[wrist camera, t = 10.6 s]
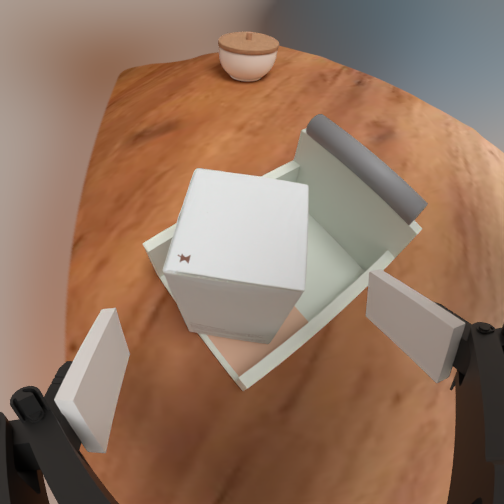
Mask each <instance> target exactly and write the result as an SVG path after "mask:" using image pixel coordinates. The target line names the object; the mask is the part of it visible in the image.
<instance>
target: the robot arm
mask: <svg viewBox="0 0 504 504" xmlns="http://www.w3.org/2000/svg"><path fill="white" fill-rule="evenodd" d="M366 317H367V318H368V319H369V320H370V321H371V322H372V323H374V324H375V325H376V326H377V327H378V328H379V329H380V330H381V331H382V332H383V333H384V334H385V335H387V336H388V337H389V338H390V339H391V340H392V341H393V342H394V343H395V344H396V345H397V346H398V347H399V348H400V349H401V350H402V351H404V352H405V353H406V354H407V355H408V356H409V357H410V358H411V359H412V360H413V361H414V362H415V363H416V364H417V365H418V366H419V367H420V368H421V369H422V370H423V371H425V372H426V373H427V374H428V375H429V376H430V377H431V378H432V379H433V380H434V381H435V382H436V383H438V382H440V381H442V380H444V379H446V378H448V377H449V375H450V372H451V369H452V366H454V367H455V368H456V369H457V372H456V375H455V377H454V380H453V383H452V385H451V388H450V390H453V387H454V386H455V387H456V426H455V445H454V458H453V467H452V476H451V483H450V490H449V496H448V501H447V504H504V324H503V327H502V328H498V329H495V328H494V327H493V326H492V325H490V324H487V323H483V322H477V323H474V324H473V325H472V324H470V323H469V322H467V321H466V320H464V319H463V318H461V317H460V316H458V315H457V314H455V313H453V312H452V311H450V310H448V309H447V308H446V307H444V306H443V305H441V304H439V303H436V302H433V301H431V300H429V299H428V298H426V297H425V296H423V295H422V294H420V293H418V292H417V291H415V290H414V289H412V288H410V287H409V286H407V285H406V284H404V283H402V282H401V281H399V280H397V279H396V278H394V277H393V276H391V275H389V274H388V273H386V272H384V271H383V270H381V269H379V270H374V271H369V282H368V296H367V307H366ZM129 356H130V353H129V350H128V347H127V344H126V341H125V337H124V334H123V331H122V328H121V324H120V321H119V318H118V314H117V311H116V308H110V309H102V310H101V312H100V313H99V315H98V317H97V319H96V320H95V322H94V324H93V325H92V327H91V329H90V331H89V333H88V334H87V336H86V338H85V340H84V342H83V343H82V345H81V347H80V349H79V351H78V353H77V355H76V356H75V358H74V360H73V361H67V362H66V363H65V364H63V365H62V366H61V367H60V368H59V370H58V371H57V374H56V375H55V378H54V379H53V381H52V384H51V385H50V387H49V388H48V391H47V393H46V394H45V396H44V397H43V395H42V393H41V391H40V390H39V389H38V388H37V387H34V386H27V387H23V388H21V389H19V390H18V391H16V392H15V393H14V394H13V395H12V397H11V399H10V405H11V407H12V409H13V410H14V412H15V413H16V414H17V416H18V417H19V420H12V421H8V419H7V418H6V417H5V415H4V414H3V413H2V412H0V504H49V500H48V496H47V493H46V487H45V483H44V478H43V475H44V477H45V479H46V481H47V483H48V485H49V487H50V489H51V491H52V493H53V494H54V496H55V498H56V500H57V502H58V504H119V503H118V502H117V501H116V500H115V499H114V497H113V496H112V495H111V494H110V492H109V491H108V490H107V489H106V487H105V486H104V485H103V483H102V482H101V481H100V479H99V478H98V477H97V475H96V474H95V473H94V471H93V470H92V468H91V467H90V465H89V464H88V463H87V461H86V460H85V458H84V457H83V455H82V454H81V452H80V451H79V449H80V445H81V443H82V444H83V446H84V447H85V448H86V450H87V451H88V452H96V453H106V450H107V445H108V440H109V435H110V430H111V426H112V421H113V417H114V413H115V409H116V405H117V401H118V397H119V393H120V389H121V385H122V381H123V377H124V374H125V370H126V366H127V363H128V359H129Z"/></svg>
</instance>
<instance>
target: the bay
mask: <svg viewBox="0 0 504 504" xmlns="http://www.w3.org/2000/svg"><path fill="white" fill-rule="evenodd" d="M261 177H265V178H271V179H278V180H284V181H290V182H295V183H301V184H306V185H308V186H309V217H308V251H307V272H306V285H305V291H304V292H303V293H302V295H301V297H300V298H299V300H298V301H297V303H296V304H295V306H294V307H293V309H292V310H291V312H290V314H289V315H288V317H287V318H286V320H285V321H284V323H283V324H282V326H281V327H280V329H279V330H278V332H277V333H276V335H275V336H274V338H273V339H272V341H271V342H270V343H269V344H264V343H256V342H249V341H243V340H236V339H230V338H224V337H217V336H212V335H206V334H200V333H198V334H199V336H200V337H201V338H202V340H203V341H204V342H205V344H206V345H207V346H208V348H209V349H210V350H211V352H212V353H213V354H214V356H215V357H216V358H217V359H218V361H219V362H220V363H221V365H222V366H223V367H224V368H225V370H226V371H227V372H228V374H229V375H230V376H231V377H232V379H233V380H234V381H235V382H236V384H237V385H238V386H239V387H240V388H241V390H242V391H244V390H246V389H248V388H249V387H250V386H252V385H253V384H254V383H256V382H257V381H258V380H260V379H261V378H262V377H263V376H265V375H266V374H267V373H269V372H270V371H271V370H272V369H274V368H275V367H276V366H277V365H279V364H280V363H281V362H282V361H284V360H285V359H286V358H287V357H289V356H290V355H291V354H292V353H294V352H295V351H296V350H297V349H298V348H300V347H301V346H302V345H303V344H304V343H305V342H307V341H308V340H309V339H310V338H311V337H312V336H314V335H315V334H316V333H317V332H318V331H319V330H321V329H322V328H323V327H324V326H325V325H326V324H327V323H328V322H330V321H331V320H332V319H333V318H334V317H335V316H336V315H337V314H338V313H339V312H341V311H342V310H343V309H344V308H345V307H346V306H347V305H348V304H349V303H350V302H351V301H352V300H353V299H354V298H356V297H357V296H358V295H359V294H360V293H361V292H362V291H363V290H364V289H365V288H366V287H367V286H368V282H369V271H374V270H379V269H381V270H384V269H385V268H386V267H387V266H388V265H389V264H390V263H391V262H392V261H393V260H394V259H395V258H396V257H397V255H398V254H399V253H400V252H401V251H402V250H403V249H404V248H405V247H406V246H407V245H408V244H409V243H410V242H411V241H412V240H413V239H414V237H415V236H416V235H417V234H418V233H419V232H420V231H421V230H422V228H421V227H420V226H419V225H418V224H417V223H416V222H415V221H414V220H415V219H416V218H417V217H418V215H419V214H420V213H421V212H422V211H423V210H424V208H425V207H426V206H427V204H428V203H427V202H426V201H425V200H424V199H423V198H422V197H421V196H420V195H419V194H418V193H417V192H415V191H414V190H413V189H412V188H411V187H410V186H409V185H408V184H407V183H406V182H405V181H404V180H403V179H402V178H401V177H399V176H398V175H397V174H396V173H395V172H394V171H393V170H392V169H391V168H389V167H388V166H387V165H386V164H385V163H384V162H383V161H381V160H380V159H379V158H378V157H377V156H376V155H374V154H373V153H372V152H371V151H370V150H368V149H367V148H366V147H365V146H363V145H362V144H361V143H360V142H358V141H357V140H356V139H355V138H353V137H352V136H351V135H350V134H348V133H347V132H346V131H344V130H343V129H342V128H340V127H339V126H338V125H336V124H335V123H334V122H332V121H331V120H330V119H328V118H327V117H325V116H324V115H322V114H319V115H316V116H315V117H314V118H313V119H312V120H311V121H310V122H309V124H308V126H307V128H306V129H303V130H301V134H300V138H299V142H298V146H297V150H296V154H295V158H294V160H293V161H291V162H289V163H287V164H285V165H283V166H281V167H279V168H277V169H275V170H273V171H271V172H269V173H267V174H265V175H263V176H261ZM176 225H177V223H176V224H174V225H173V226H171V227H169V228H167V229H166V230H164V231H162V232H161V233H159V234H157V235H156V236H154V237H152V238H151V239H149V240H147V241H146V242H144V243H143V246H144V248H145V250H146V252H147V254H148V257H149V259H150V261H151V263H152V265H153V267H154V269H155V271H156V273H157V275H158V277H159V278H160V280H161V281H162V283H163V284H164V286H165V287H166V289H167V290H168V292H169V293H170V295H171V296H172V297H173V294H172V292H171V290H170V287H169V285H168V283H167V280H166V278H165V275H164V273H163V267H164V264H165V261H166V258H167V254H168V251H169V247H170V244H171V241H172V238H173V234H174V231H175V228H176ZM173 299H174V297H173ZM174 300H175V299H174ZM175 302H176V301H175Z"/></svg>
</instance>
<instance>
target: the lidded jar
mask: <svg viewBox="0 0 504 504" xmlns="http://www.w3.org/2000/svg"><path fill="white" fill-rule="evenodd" d="M218 44H219V58H220V62H221V65H222V67H223V68H224V70H225V71H226V72H227V73H228V74H229V75H230V76H231V77H232V78H233V79H235V80H238V81H244V82H251V81H257V80H259V79H260V78H261V77H262V76H264V75H265V74H267V73H268V72H269V71H270V70H271V68H272V67H273V65H274V63H275V59H276V56H277V50H278V48H279V43H278V41H277V40H276V39H274V38H273V37H270V36H267V35H264V34H260V33H254V32H234V33H229V34H225V35H223V36H221V37H220V38H219V40H218Z"/></svg>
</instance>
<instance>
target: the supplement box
mask: <svg viewBox="0 0 504 504" xmlns="http://www.w3.org/2000/svg"><path fill="white" fill-rule="evenodd" d="M308 217H309V186H308V185H306V184H301V183H295V182H290V181H284V180H278V179H271V178H265V177H259V176H252V175H244V174H236V173H229V172H223V171H216V170H208V169H201V168H197V169H196V170H195V171H194V173H193V176H192V179H191V182H190V185H189V188H188V191H187V194H186V197H185V200H184V203H183V206H182V209H181V211H180V214H179V217H178V220H177V225H176V228H175V231H174V234H173V238H172V241H171V244H170V247H169V251H168V254H167V258H166V261H165V264H164V267H163V273H164V275H165V278H166V280H167V283H168V285H169V287H170V290H171V292H172V294H173V297H174V299H175V301H176V303H177V306H178V308H179V310H180V312H181V314H182V317H183V319H184V321H185V323H186V325H187V327H188V330H189V331H190V332H195V333H200V334H206V335H212V336H217V337H224V338H230V339H236V340H243V341H249V342H256V343H264V344H269V343H270V342H271V341H272V339H273V338H274V336H275V335H276V333H277V332H278V330H279V329H280V327H281V326H282V324H283V323H284V321H285V320H286V318H287V317H288V315H289V314H290V312H291V310H292V309H293V307H294V306H295V304H296V303H297V301H298V300H299V298H300V297H301V295H302V293H303V292H304V291H305V285H306V272H307V251H308Z"/></svg>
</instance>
